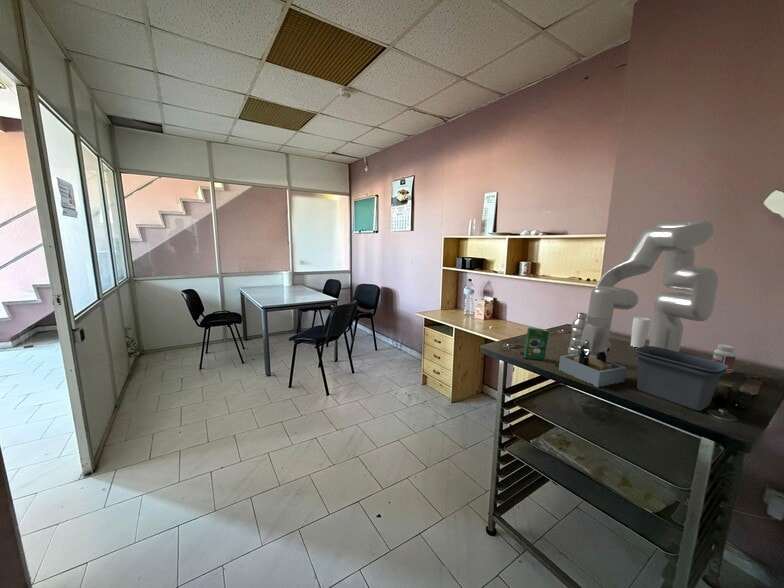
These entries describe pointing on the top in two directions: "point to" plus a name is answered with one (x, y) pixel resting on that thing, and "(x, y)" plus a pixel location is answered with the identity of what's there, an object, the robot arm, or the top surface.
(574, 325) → the plastic bottle
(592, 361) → the wooden crate
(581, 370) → the grey crate
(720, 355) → the pill bottle
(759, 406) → the top surface
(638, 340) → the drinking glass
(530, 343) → the coffee box
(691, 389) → the storage bin
